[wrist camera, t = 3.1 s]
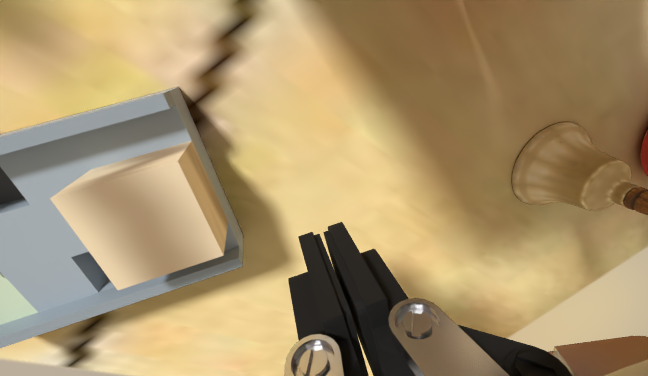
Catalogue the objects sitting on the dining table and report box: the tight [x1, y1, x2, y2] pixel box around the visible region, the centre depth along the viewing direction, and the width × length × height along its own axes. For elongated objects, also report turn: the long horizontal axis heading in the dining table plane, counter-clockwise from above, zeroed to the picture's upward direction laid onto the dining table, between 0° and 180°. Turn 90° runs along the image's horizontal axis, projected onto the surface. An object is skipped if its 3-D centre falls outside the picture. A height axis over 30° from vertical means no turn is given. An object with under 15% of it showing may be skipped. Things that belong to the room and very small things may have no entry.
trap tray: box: [0, 87, 244, 348], centre depth 18 cm, size 19×12×6 cm, turn 104°
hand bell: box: [512, 122, 648, 215], centre depth 22 cm, size 8×8×16 cm
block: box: [50, 141, 228, 290], centre depth 17 cm, size 6×6×4 cm
